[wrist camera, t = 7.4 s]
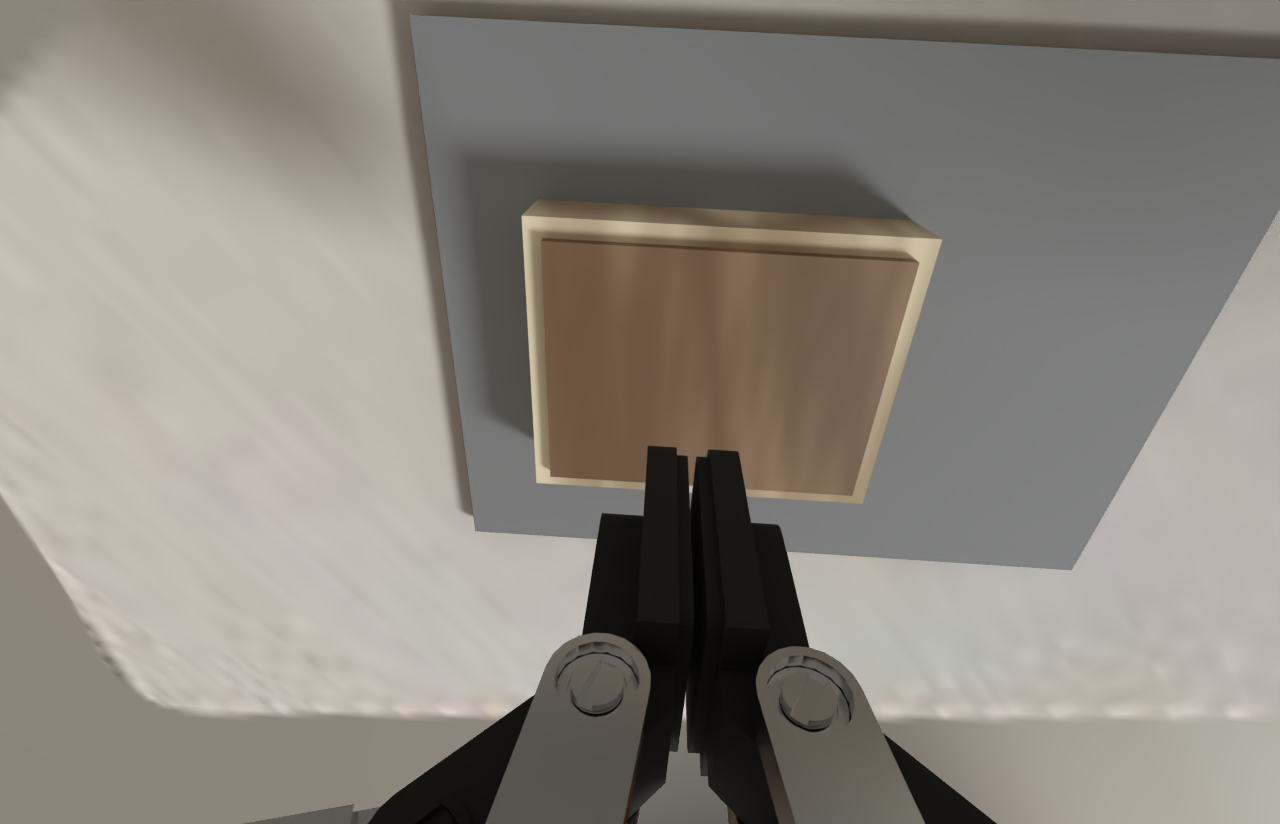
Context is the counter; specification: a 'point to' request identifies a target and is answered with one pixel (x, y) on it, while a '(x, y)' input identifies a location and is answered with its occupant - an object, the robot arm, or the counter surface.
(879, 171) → the rubber mat
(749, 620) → the robot arm
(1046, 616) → the counter surface
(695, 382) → the birch tile
